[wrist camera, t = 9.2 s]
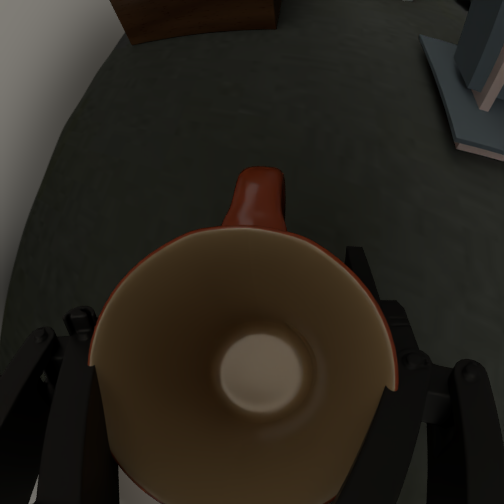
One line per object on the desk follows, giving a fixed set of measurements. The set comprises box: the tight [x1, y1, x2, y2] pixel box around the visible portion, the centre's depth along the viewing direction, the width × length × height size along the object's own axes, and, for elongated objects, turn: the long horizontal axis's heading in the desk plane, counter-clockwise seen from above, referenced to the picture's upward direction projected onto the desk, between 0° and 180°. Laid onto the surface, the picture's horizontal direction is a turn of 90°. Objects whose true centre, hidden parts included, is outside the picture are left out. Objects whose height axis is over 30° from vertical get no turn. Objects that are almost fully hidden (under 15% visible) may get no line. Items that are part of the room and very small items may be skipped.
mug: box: [88, 166, 399, 504], centre depth 13 cm, size 12×9×10 cm
